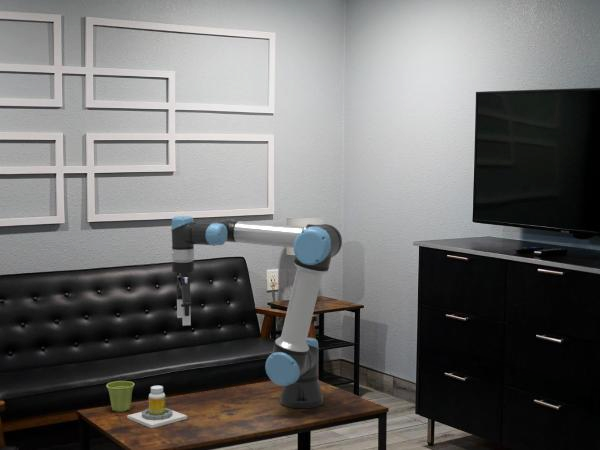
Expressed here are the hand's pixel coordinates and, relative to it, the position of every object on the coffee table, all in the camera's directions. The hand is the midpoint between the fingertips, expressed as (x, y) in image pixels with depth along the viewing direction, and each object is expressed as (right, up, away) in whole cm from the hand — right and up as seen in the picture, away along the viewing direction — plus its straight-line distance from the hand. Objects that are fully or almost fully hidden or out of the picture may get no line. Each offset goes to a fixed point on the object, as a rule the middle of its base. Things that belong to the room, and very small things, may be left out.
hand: (183, 321), depth 309 cm
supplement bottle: (-7, -29, -17) cm, 35 cm away
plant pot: (-21, -29, -7) cm, 37 cm away
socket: (-7, -30, -17) cm, 35 cm away
